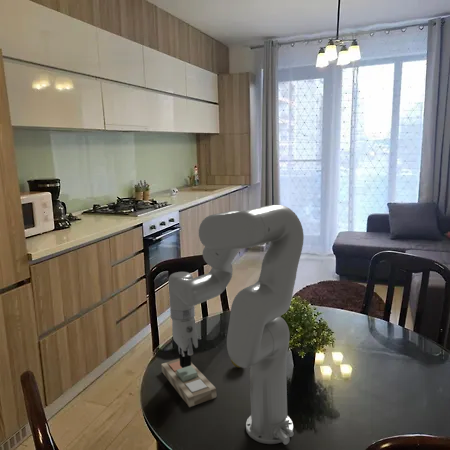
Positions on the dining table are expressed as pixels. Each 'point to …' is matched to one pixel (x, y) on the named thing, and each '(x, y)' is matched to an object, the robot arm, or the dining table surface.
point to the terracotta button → (175, 366)
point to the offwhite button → (196, 386)
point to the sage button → (186, 373)
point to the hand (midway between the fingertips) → (185, 365)
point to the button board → (183, 390)
